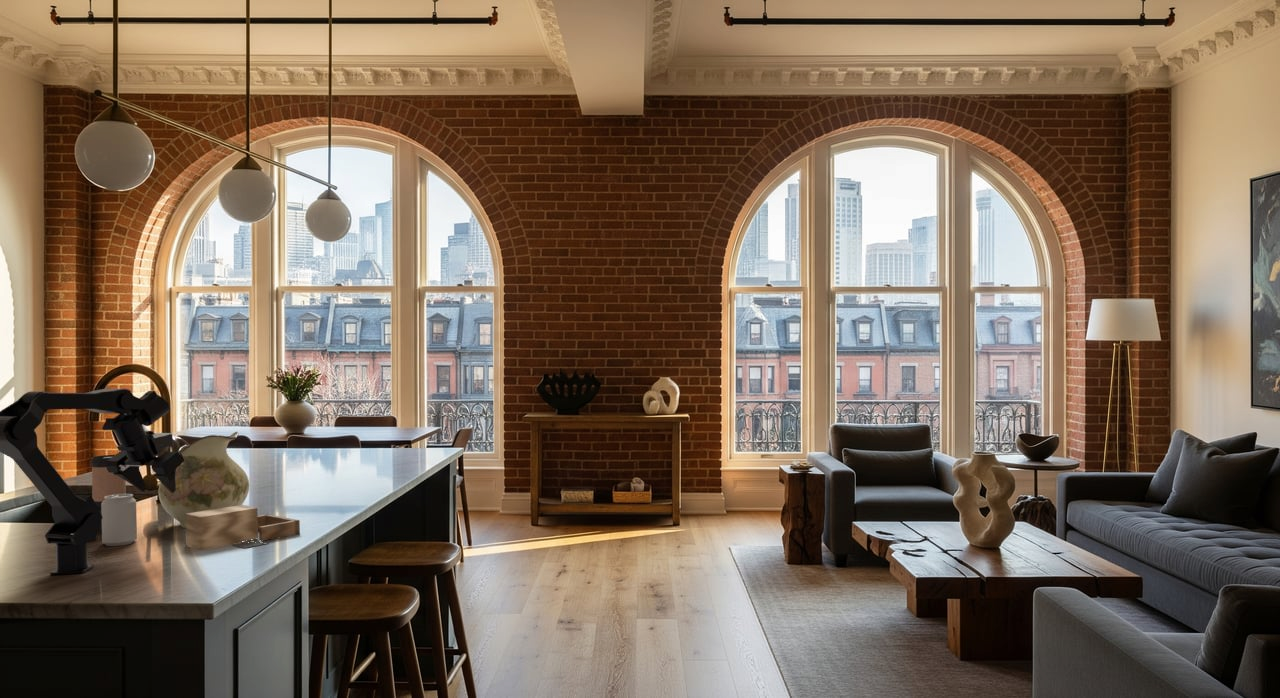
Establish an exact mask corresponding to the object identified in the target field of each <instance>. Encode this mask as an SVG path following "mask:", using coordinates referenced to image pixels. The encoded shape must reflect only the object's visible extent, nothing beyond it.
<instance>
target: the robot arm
mask: <svg viewBox="0 0 1280 698" xmlns="http://www.w3.org/2000/svg"><path fill="white" fill-rule="evenodd" d="M48 410H87V411H89V412H94V413H99V414H104V415H105V414H112V415H114V414H115V416H114V417H113V418H112V417H109V418H107V417H106V418H105V421H104V423H103V425H102V428H101V430H102V431H113V433H114V434H115V436H116V438H117V440H118V442H119V445H117V446H116V448H117V450H118V452H117V453H116V454H113V455H114V456H113V457H112V458H110V459H109V460H107V462H106V468H107V470H108V472H109V473H113V474H114V475H117V476H119V477H120V478H122V479H124V480H125V482H126V483H129V484H130V485H132V486H133V487H135V488H136V489H137V490H139V491H140V492H145V491H146V490H147V487H146V483H145V481H144V478H143V476H142V473H141V470H140V467H145V466H147V467H148V466H149V467H150V466H151V469H152V472H153V473H155V475H154V477H155V478H156V479H158V481H159V483H160V482H161V483H162V484H163V485H164V486H165V487H166V488H167V489H168V490H169V491H170V492H171V493H173V492H175V491H176V482H175V473H176V469H177V467H178V466H180V465H181V463H183V462H184V461H185V459H184V457H183V455H182V453H179V452H172V451H167V452H165V453H164V454H163V455H161V456H160V457H157V454H159V453H160V452H162V450H161V449H162V448H166V447H170V448H171V447H172V446H174V444H173V436H172V435H173V432H158V433H154V431H153V430H145V428H144V426H145V427H150V426H151V425H153V424H154V423H156V422H157V421H158V420H159V419H161V418H162V417H164V416H165V415H167V414H168V413H169V412H170V404H169V403H168V401H167V400H165V398H164V397H163V396H161V395H159V394H158V393H157V391H155V390H147V392H145V393H144V394H143V395H142V396H141V397H137V396H135V395H134V394H133V392H132V391H131V390H130V389H128V388H102V389H97V390H92V391H89V392H48V391H45V390H43V391H41V390H40V391H38V390H36V391H35V390H33V391H27V392H26V393H23V395H21V397H19V398H18V399H17V400H16V401H14V402H13V403H11V404H9V405H8V406H6V407H4V408H3V409H1V410H0V453H1V454H3V455H5V456H7V457H9V458H10V459H12V461H14V463H15V464H16V465H17V466H18V468H19V469H20V470H21V471H22V472H23V473H24V475H25V476H26V477H27V478H28V479H29V481H31V483H32V485H34V486H35V488H36V489H37V490H38V492H40V494H41V495H42V497H44V499H45V500H46V501H47V503H49V505H50V506H51V511H52V512H51V513H52V514H51V516H52V519H53V521H54V523H53V524H52V525H51V527H50V528H49V529H48V531H47V532H46V533H45V535H44V537H45V539H46V543H47V544H48V545H49V544H55V546H56V547H55V549H56V552H55V553H56V555H55V556H56V569H54V570H52V571H50V572H49V575H50V576H52V575H53V576H54V575H66V574H67V575H69V574H81V573H85V572H87V571H88V570H90V569H91V568H93V567H94V566H95V563H89V560H88V559H89V557H88V555H89V554H88V550H89V549H88V543H89V544H90V543H94V542H96V541H97V537H98V535H99V534H98V531H99V528H100V525H101V520H102V518H103V517H102V514H101V512H100V511H99V510H101V508H100V507H98V506H97V505H96V503H95V501H94V499H93V498H92V495H77V494H75V492H74V491H73V490H72V488H71V487H70V485H68V484H67V482H66V481H65V480H64V479H63V477H62V476H61V475H60V473H59V472H58V471H57V469H56V468H55V467H54V465H53V464H52V463H51V462H50V461H49V460H48V458H47V457H46V456H45V454H44V453H43V452H42V451H41V449H40V448H39V446H38V434H37V432H36V431H35V430H36V429H37V428H38V427H39V426H40V425H41V423H42V421H43V419H44V417H45V415H46V412H47V411H48Z"/></svg>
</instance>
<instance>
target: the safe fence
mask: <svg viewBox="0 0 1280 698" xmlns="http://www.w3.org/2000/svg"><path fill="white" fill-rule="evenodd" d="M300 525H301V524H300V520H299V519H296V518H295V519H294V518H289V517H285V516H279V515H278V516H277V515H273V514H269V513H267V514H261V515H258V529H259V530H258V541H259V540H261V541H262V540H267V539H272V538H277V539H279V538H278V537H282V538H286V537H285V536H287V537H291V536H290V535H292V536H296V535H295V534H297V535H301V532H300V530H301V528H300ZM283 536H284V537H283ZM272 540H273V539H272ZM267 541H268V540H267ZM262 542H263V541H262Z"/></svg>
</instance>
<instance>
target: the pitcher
mask: <svg viewBox="0 0 1280 698" xmlns="http://www.w3.org/2000/svg"><path fill="white" fill-rule="evenodd" d="M172 436H173V444H174V446H172V447H170V446H169V447H170V448H171V452H179V453H182V455H183V457H184V459H185V461H184V462H183V463H181V465H180V466H178V467H177V469H176V473H175V482H176V491H175V492H173V493H171V492H170V491H169V490H168V489H167V488H166V487H165V486H164V485H163V484H162V483H161V482H160V481H159V486H158V498H159V501H160V504H161V506H162V508H163V509H164V511H166V513H167V514H168V515H170V517H172V519H175V520H176V521H177V522H179V525H180V527H182V528H184V529H186V523H185V514H187V513H193V512H200V511H206V510H212V509H218V508H225V507H231V506H237V505H243V504H244V503H245V501H246V499H247V497H248V494H249V492H250V482H249V481H250V480H249V477H248V475H247V473H246V471H245V470H244V469H243V468H242V467H241V466H240V465H239V464H238V463H237V462H236V461H235V460H233V458H232V457H230V456H229V453H228V452H227V447H228V445H229V444H230V442H231V441H234V440H236V439H237V438H238V437H239V431H235V432H232V434H231V435H230V436H225V435H217V434H214V435H213V434H210V435H206V436H204V437H200V438H198V439H195V441H193V442H191V443H189V442H188V441H187V440H185V439H183V438H181V437H179V436H176V435H173V434H172ZM169 447H166V448H162V449H161V450H162V452H160V453H159V454H156V457H160V456H161V455H163V454H164V453H165V452H169V451H168V450H169Z"/></svg>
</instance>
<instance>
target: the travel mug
mask: <svg viewBox="0 0 1280 698" xmlns="http://www.w3.org/2000/svg"><path fill="white" fill-rule="evenodd" d="M114 455H115V454H105V455H104V454H103V455H96V456H93V457H91V485H92V486H91V491H92V495H91V497H92V498H93V499H94V501H95V503H96V505H97V506H98V507H100V508H101V503H102V502H103V501H104V500H105V498H104V497H106V496H110V495H117V494H127V492H126V491H127V488H126V487H127V486H126V483H127V481H125V480H124V479H122V478H120V477H119V476H117V475H114V474H113V473H109V472H108V470H107V468H106V462H107V460H109V459H110V458H112V457H113V456H114ZM99 511H100V512H101V514H102V511H101V510H99ZM98 535H102V520H101V525H100V528H99V531H98Z"/></svg>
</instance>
